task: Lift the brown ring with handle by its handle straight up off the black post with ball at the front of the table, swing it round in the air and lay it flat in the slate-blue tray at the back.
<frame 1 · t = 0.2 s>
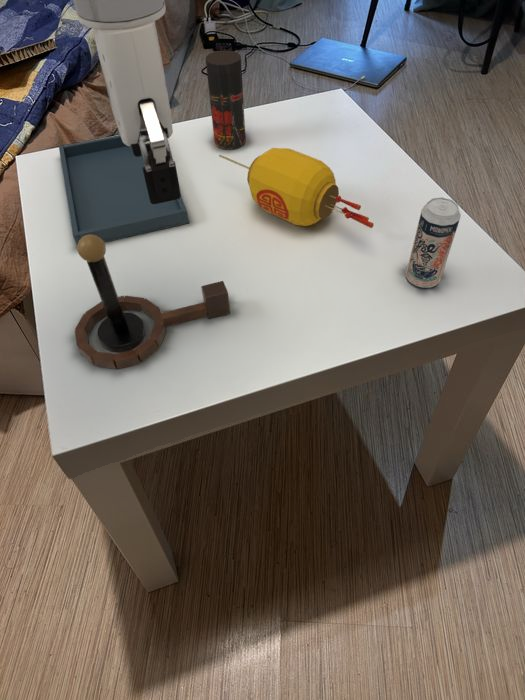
hand: (156, 175, 57), 20 cm above the table, tool pointing down, fingers open, 9 cm apart
deodorant: (230, 142, 99), on the table
lantern: (291, 213, 85), on the table
beer can: (422, 279, 74), on the table
black post with ball: (122, 334, 69), on the table
tray: (121, 188, 90), on the table
brown ring with handle: (122, 334, 69), on the table
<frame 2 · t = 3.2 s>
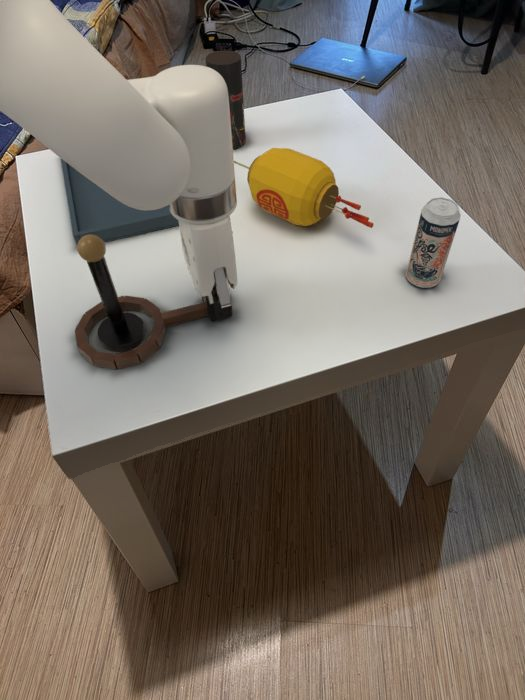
hand: (217, 309, 71), 0 cm above the table, tool pointing down, fingers closed on brown ring with handle, 2 cm apart
brown ring with handle: (122, 334, 69), on the table, touching gripper
everything else where it was.
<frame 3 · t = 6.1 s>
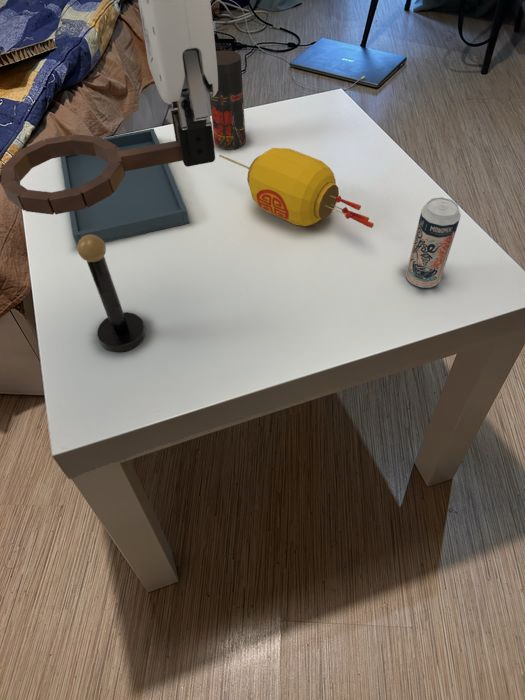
hand: (195, 153, 53), 23 cm above the table, tool pointing down, fingers closed on brown ring with handle, 2 cm apart
brown ring with handle: (66, 179, 51), point 23 cm above the table, touching gripper
everything else where it was.
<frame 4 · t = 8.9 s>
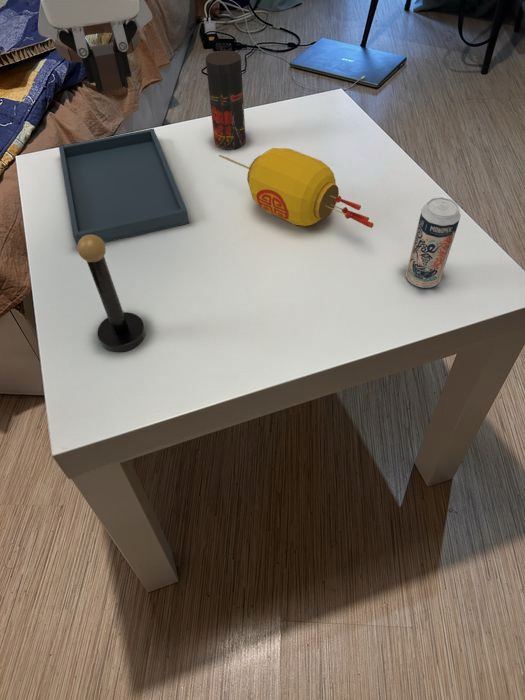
hand: (111, 84, 64), 23 cm above the table, tool pointing down, fingers closed on brown ring with handle, 2 cm apart
brown ring with handle: (99, 45, 72), point 23 cm above the table, touching gripper
everything else where it was.
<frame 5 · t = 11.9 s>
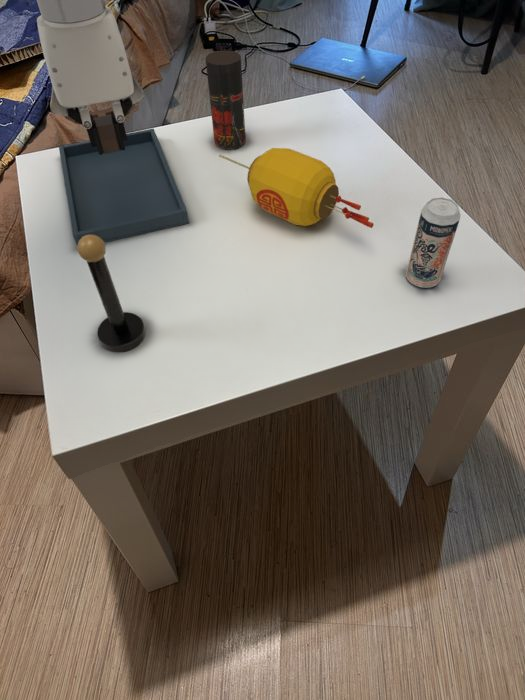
hand: (110, 146, 76), 12 cm above the table, tool pointing down, fingers closed on brown ring with handle, 2 cm apart
brown ring with handle: (99, 107, 84), point 12 cm above the table, touching gripper
everything else where it was.
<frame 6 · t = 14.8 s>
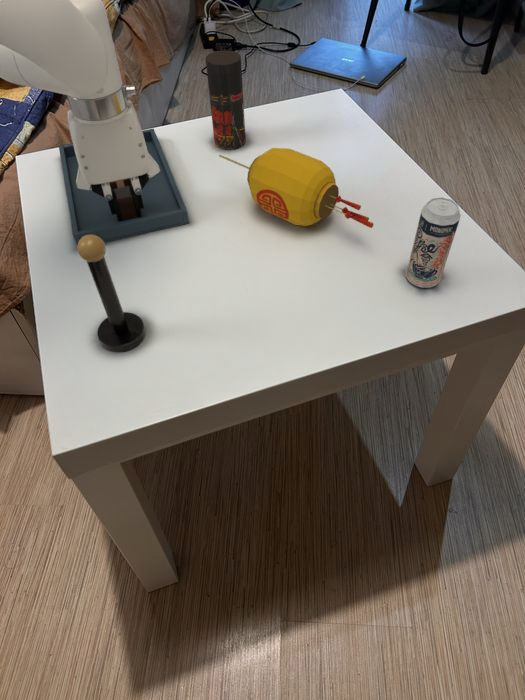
hand: (128, 213, 85), 1 cm above the table, tool pointing down, fingers closed on brown ring with handle, 2 cm apart
brown ring with handle: (116, 172, 93), resting on tray, touching gripper
everything else where it was.
when the fingers open (1 cm above the table, at t = 14.8 s): brown ring with handle stays where it is, resting on tray.
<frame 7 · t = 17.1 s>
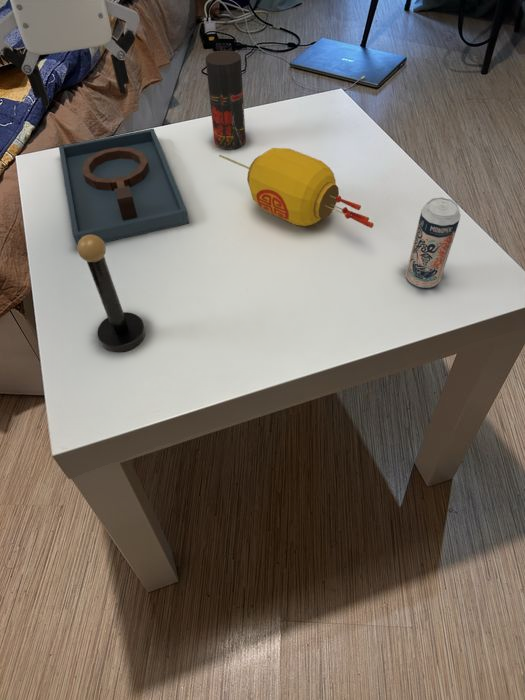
hand: (84, 96, 67), 21 cm above the table, tool pointing down, fingers open, 9 cm apart
brown ring with handle: (117, 172, 93), resting on tray
everything else where it was.
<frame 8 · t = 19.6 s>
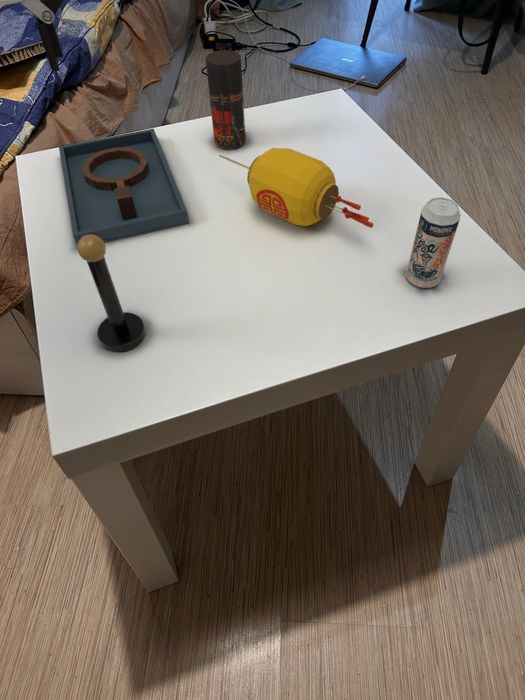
hand: (3, 74, 50), 30 cm above the table, tool pointing down, fingers open, 9 cm apart
nothing on the table moved.
at the end: brown ring with handle inside the target area in the tray (0.5 cm from its centre), point 0.4 cm above the tray's base; brown ring with handle tilted 0°; the gripper is holding nothing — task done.
